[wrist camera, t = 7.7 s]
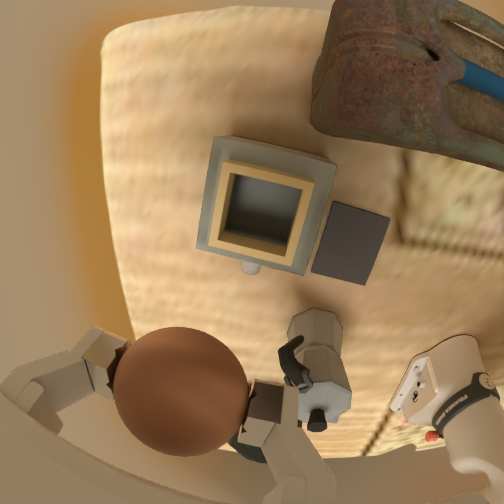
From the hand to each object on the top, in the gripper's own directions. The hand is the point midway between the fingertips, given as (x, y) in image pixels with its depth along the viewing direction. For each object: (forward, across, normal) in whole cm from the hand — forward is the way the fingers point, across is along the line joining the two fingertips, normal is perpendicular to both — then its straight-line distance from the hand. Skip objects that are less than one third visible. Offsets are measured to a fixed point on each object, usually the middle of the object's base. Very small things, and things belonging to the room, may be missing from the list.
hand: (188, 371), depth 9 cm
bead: (+1, 0, 0) cm, 1 cm away
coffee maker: (+29, -11, +18) cm, 36 cm away
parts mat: (+29, -12, +4) cm, 32 cm away
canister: (+29, -12, -14) cm, 34 cm away
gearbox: (+29, 0, +2) cm, 29 cm away
